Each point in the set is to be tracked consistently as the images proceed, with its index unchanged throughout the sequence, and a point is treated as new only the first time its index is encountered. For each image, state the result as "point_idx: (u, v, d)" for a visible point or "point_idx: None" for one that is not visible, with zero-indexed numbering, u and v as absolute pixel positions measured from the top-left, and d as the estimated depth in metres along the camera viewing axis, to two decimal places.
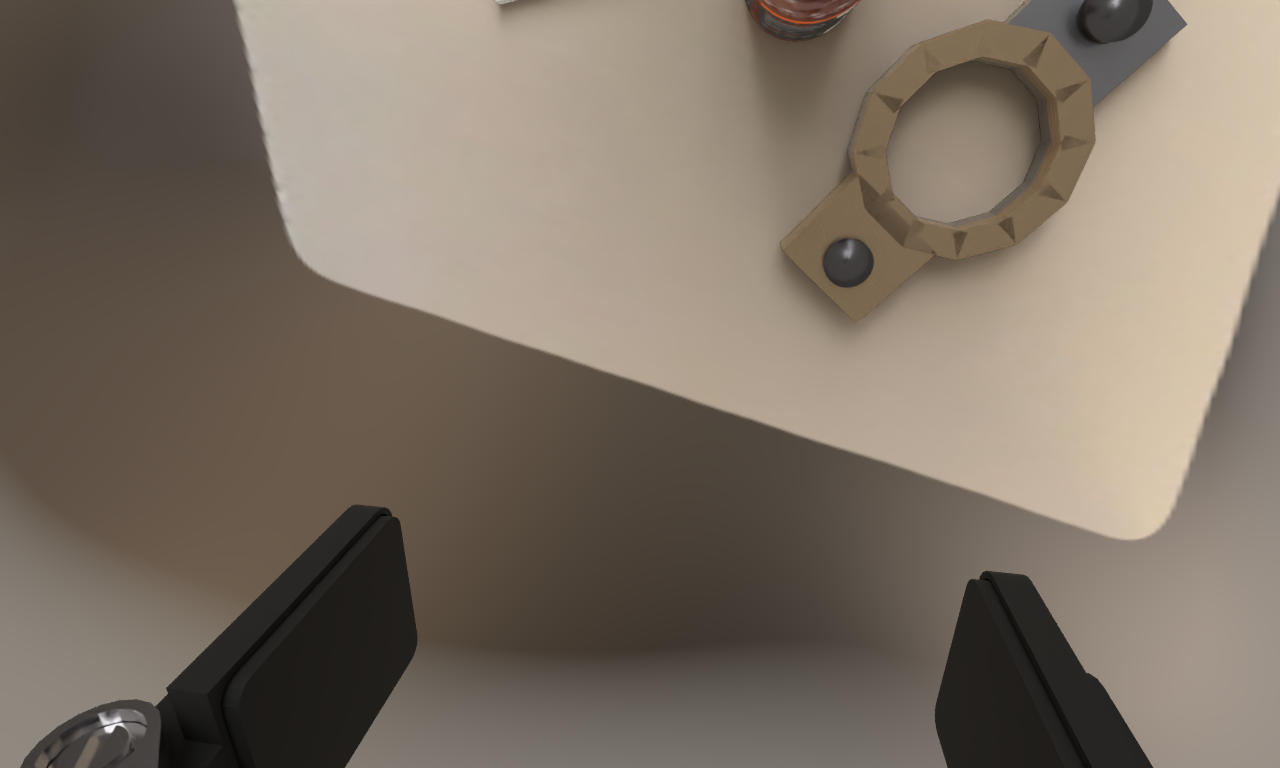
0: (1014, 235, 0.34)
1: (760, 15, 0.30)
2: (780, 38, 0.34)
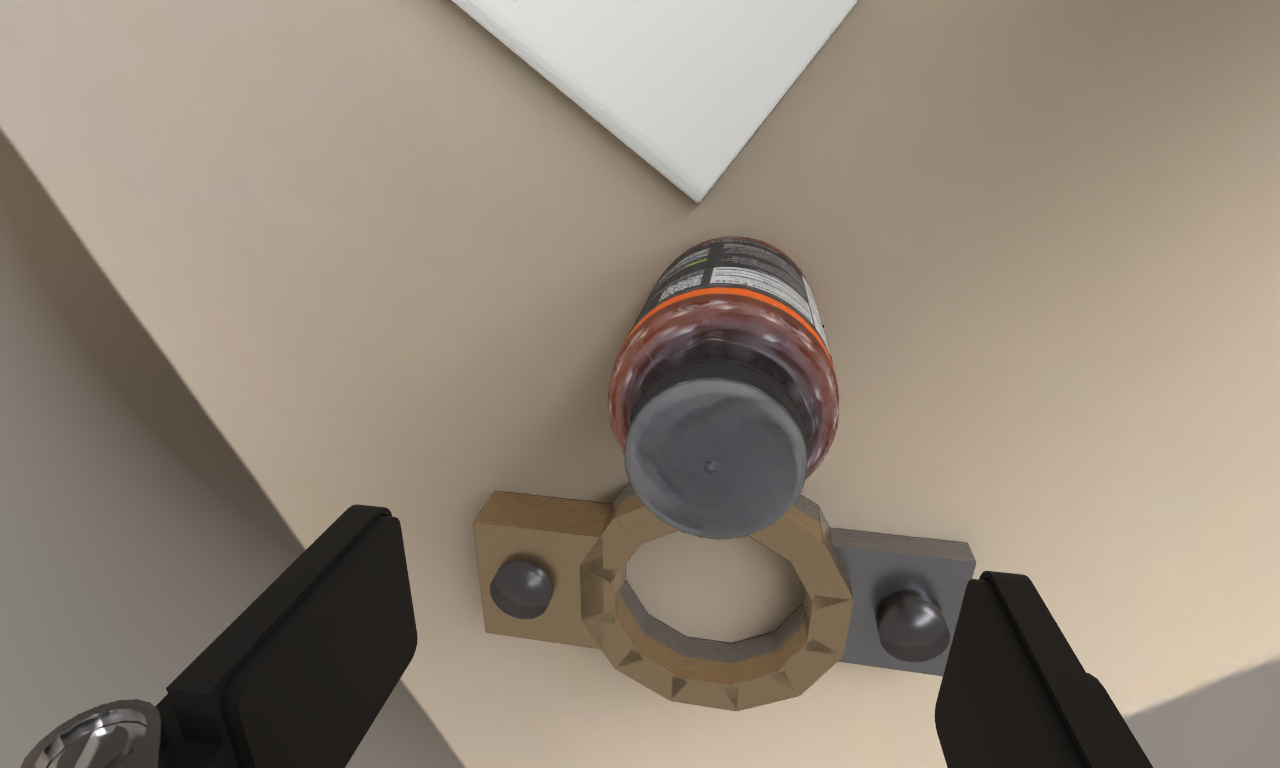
0: (675, 694, 0.29)
1: None
2: None
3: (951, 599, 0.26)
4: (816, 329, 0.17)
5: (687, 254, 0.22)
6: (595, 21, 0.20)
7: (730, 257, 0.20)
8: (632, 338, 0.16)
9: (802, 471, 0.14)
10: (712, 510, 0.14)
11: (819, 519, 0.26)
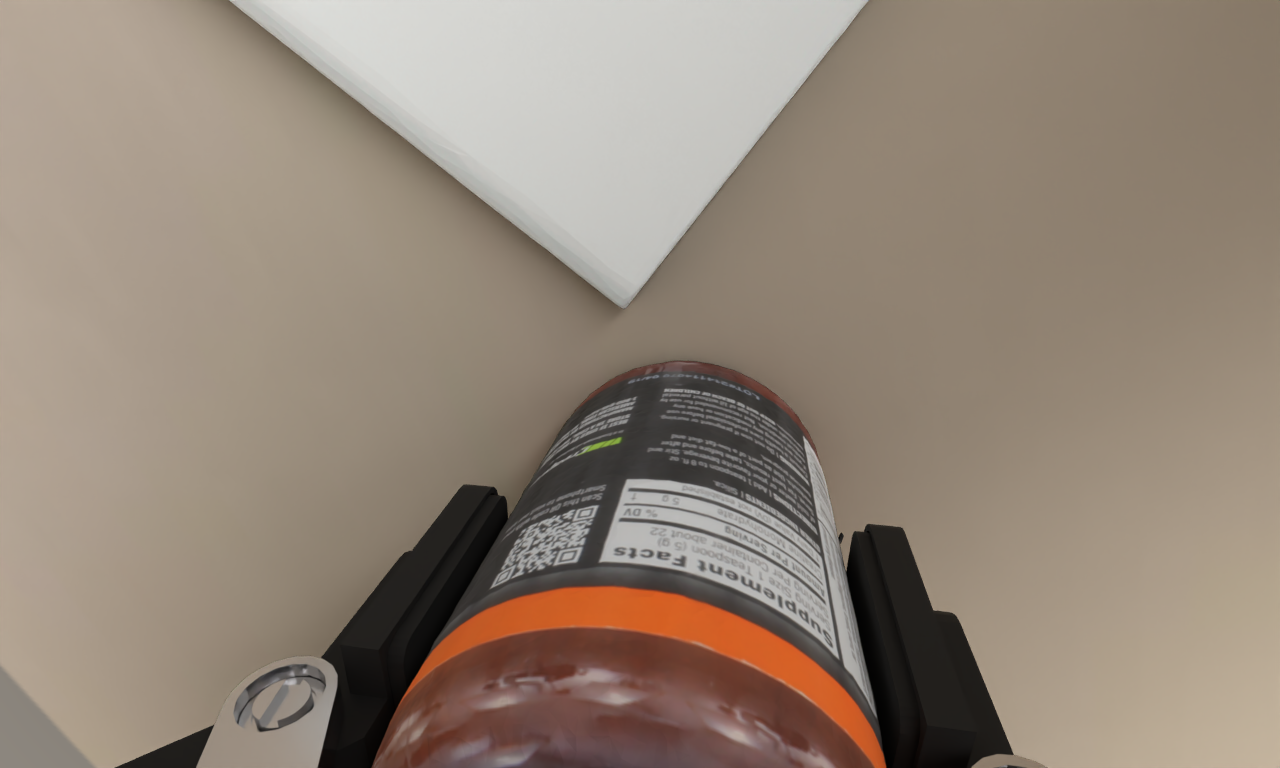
0: None
1: None
2: None
3: None
4: (845, 667, 0.07)
5: (601, 400, 0.12)
6: None
7: (666, 438, 0.10)
8: (400, 724, 0.07)
9: None
10: None
11: None
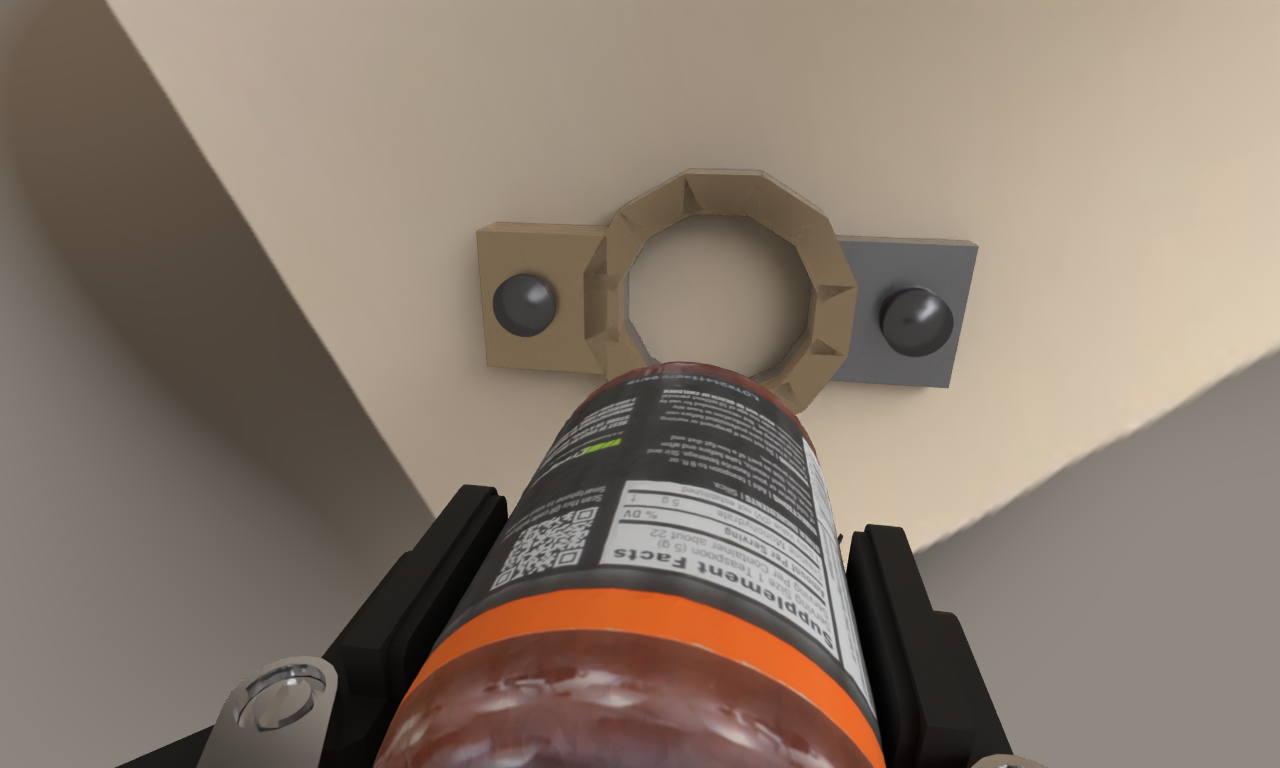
0: None
1: None
2: None
3: (954, 293, 0.26)
4: (845, 668, 0.07)
5: (600, 401, 0.12)
6: None
7: (666, 439, 0.10)
8: (400, 726, 0.07)
9: None
10: None
11: None
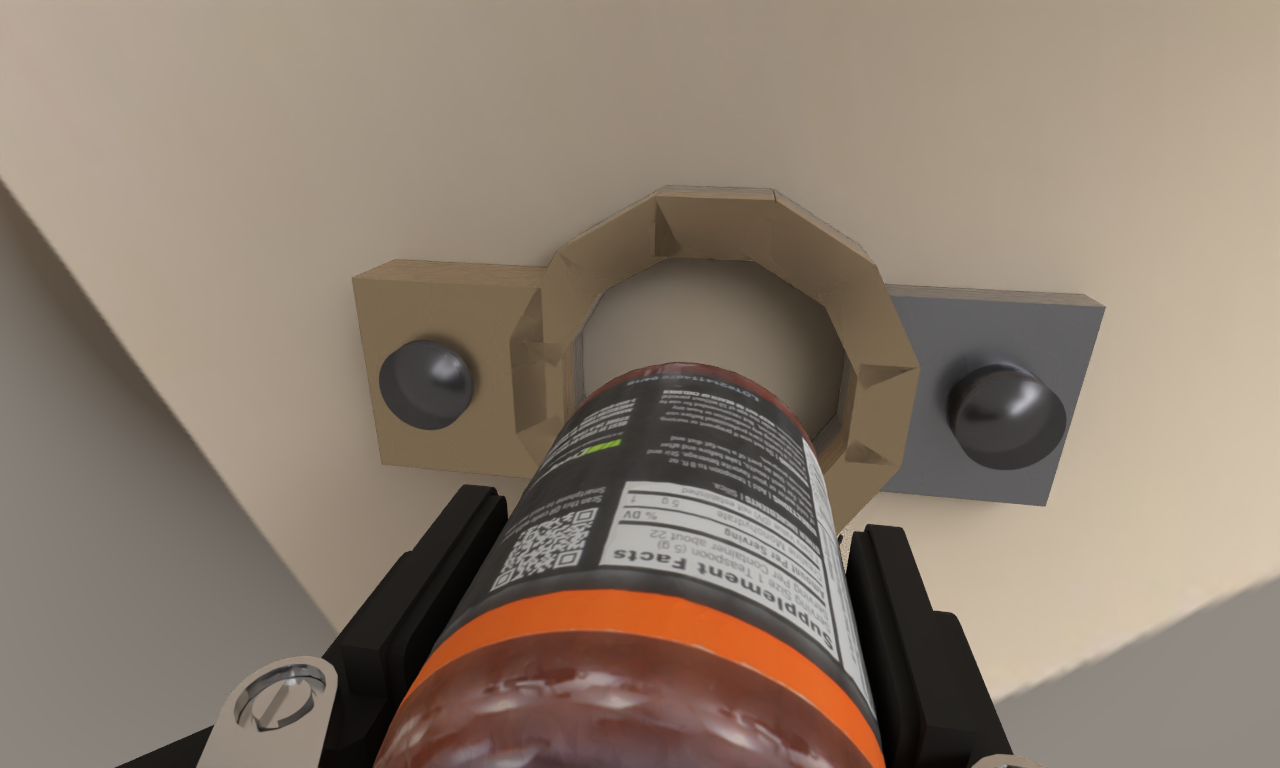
0: None
1: None
2: None
3: (1062, 375, 0.17)
4: (845, 669, 0.07)
5: (600, 402, 0.12)
6: None
7: (666, 440, 0.10)
8: (400, 727, 0.07)
9: None
10: None
11: None
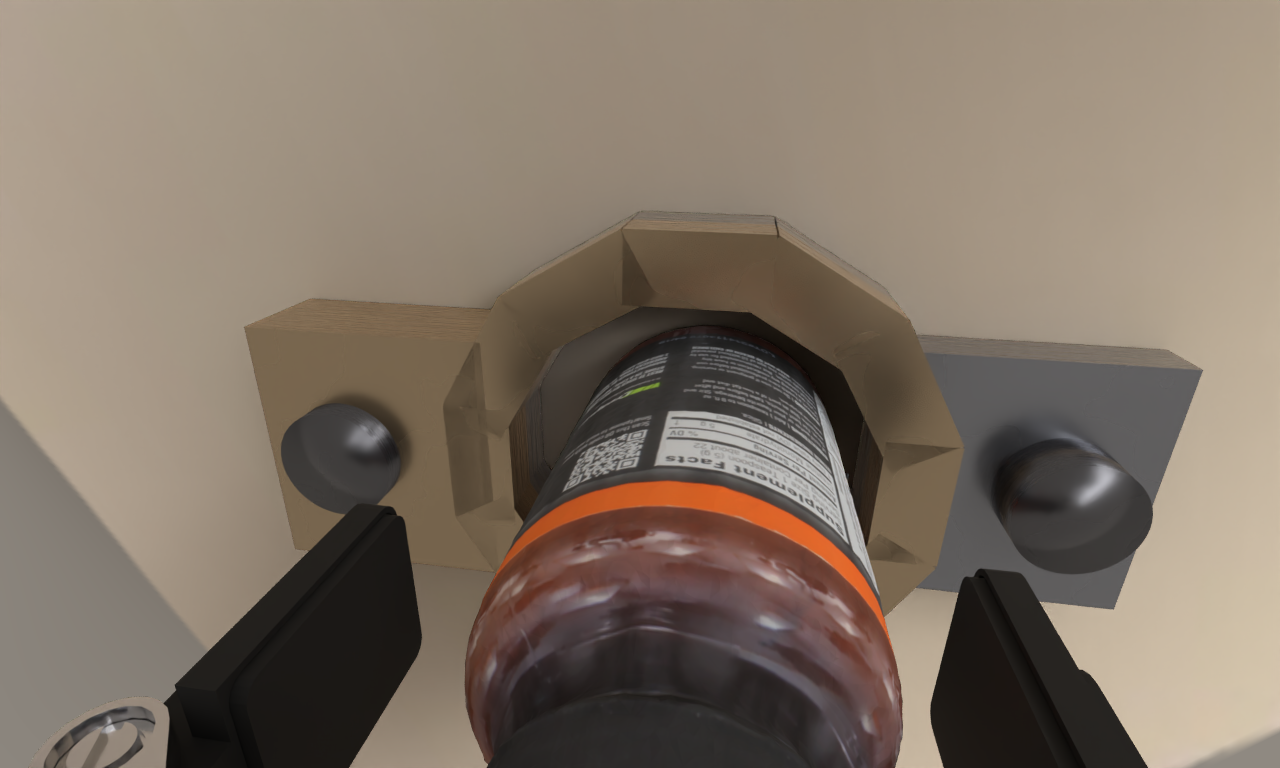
0: None
1: None
2: None
3: (1142, 453, 0.14)
4: (853, 551, 0.09)
5: (635, 358, 0.14)
6: None
7: (699, 382, 0.12)
8: (500, 586, 0.08)
9: None
10: None
11: None
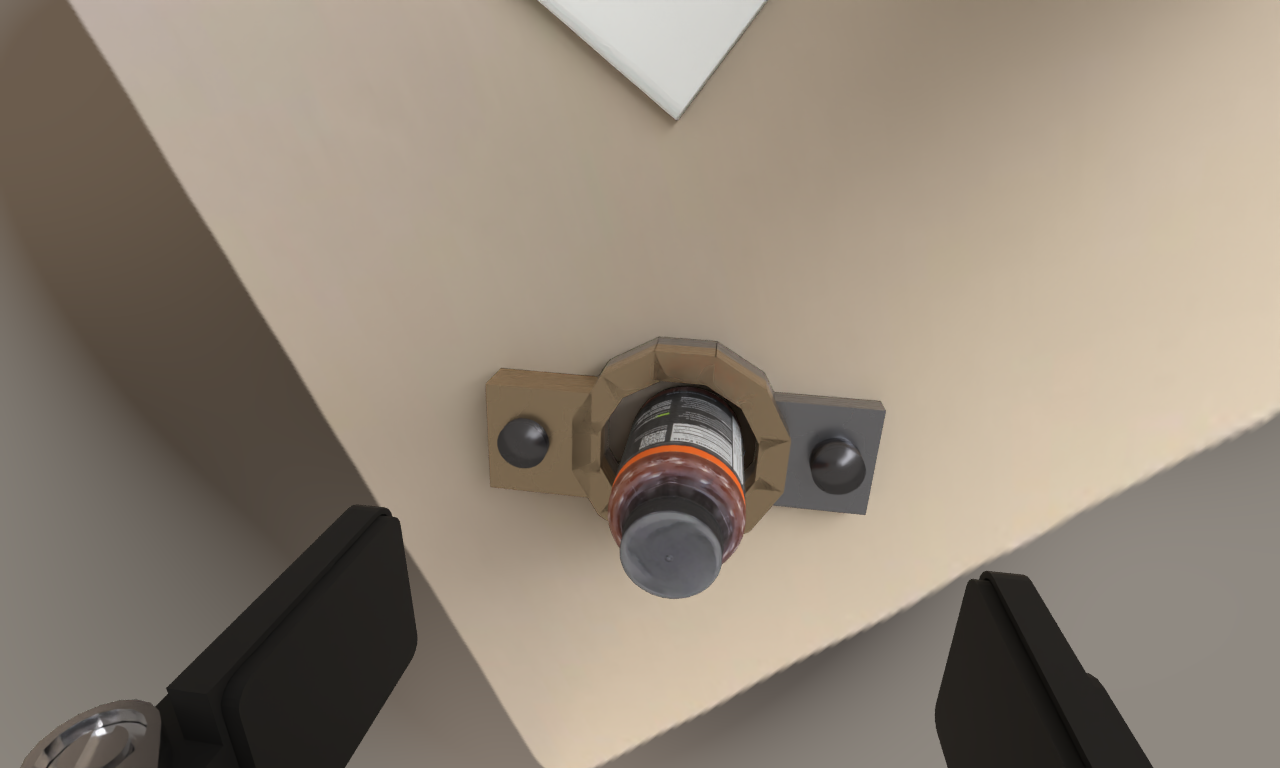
0: None
1: None
2: None
3: (868, 444, 0.33)
4: (733, 469, 0.28)
5: (657, 401, 0.33)
6: None
7: (684, 412, 0.31)
8: (623, 476, 0.27)
9: (719, 562, 0.25)
10: (669, 582, 0.25)
11: (764, 379, 0.33)
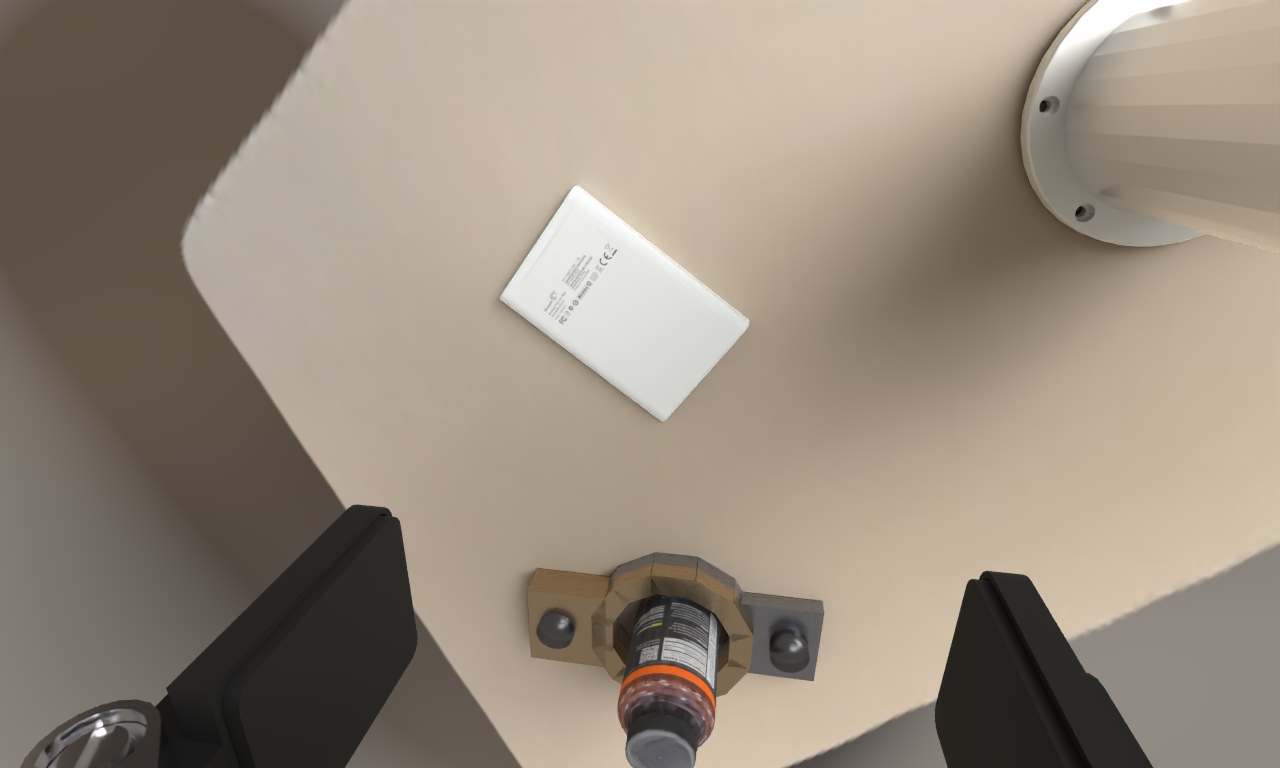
0: None
1: None
2: None
3: (812, 635, 0.44)
4: (706, 679, 0.39)
5: (654, 603, 0.44)
6: (606, 336, 0.39)
7: (672, 624, 0.42)
8: (628, 689, 0.39)
9: (693, 761, 0.36)
10: None
11: (733, 588, 0.44)
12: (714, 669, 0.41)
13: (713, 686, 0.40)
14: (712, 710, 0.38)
